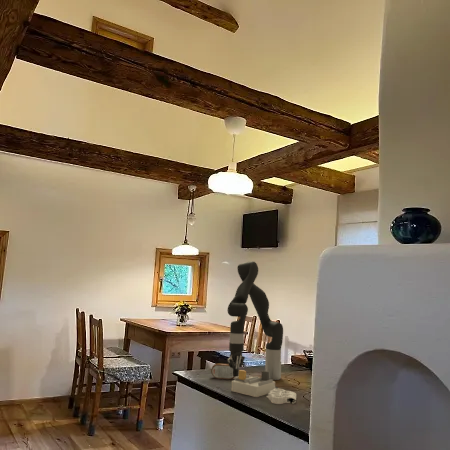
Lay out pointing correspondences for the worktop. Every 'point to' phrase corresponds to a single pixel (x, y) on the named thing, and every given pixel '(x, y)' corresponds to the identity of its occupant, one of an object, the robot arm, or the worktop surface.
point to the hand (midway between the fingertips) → (235, 376)
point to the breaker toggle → (242, 375)
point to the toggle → (265, 376)
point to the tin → (222, 371)
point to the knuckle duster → (281, 396)
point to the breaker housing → (252, 386)
